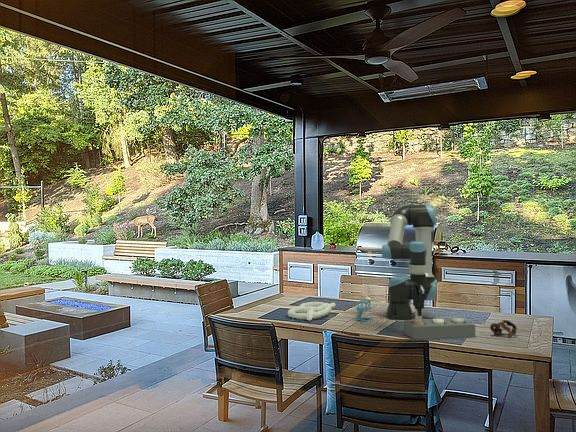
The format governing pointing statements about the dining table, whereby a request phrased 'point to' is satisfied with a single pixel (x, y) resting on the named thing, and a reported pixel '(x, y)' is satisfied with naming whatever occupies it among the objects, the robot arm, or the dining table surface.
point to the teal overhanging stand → (361, 309)
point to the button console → (439, 329)
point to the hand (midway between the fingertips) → (418, 322)
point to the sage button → (458, 320)
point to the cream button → (438, 321)
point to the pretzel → (310, 310)
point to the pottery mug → (498, 330)
